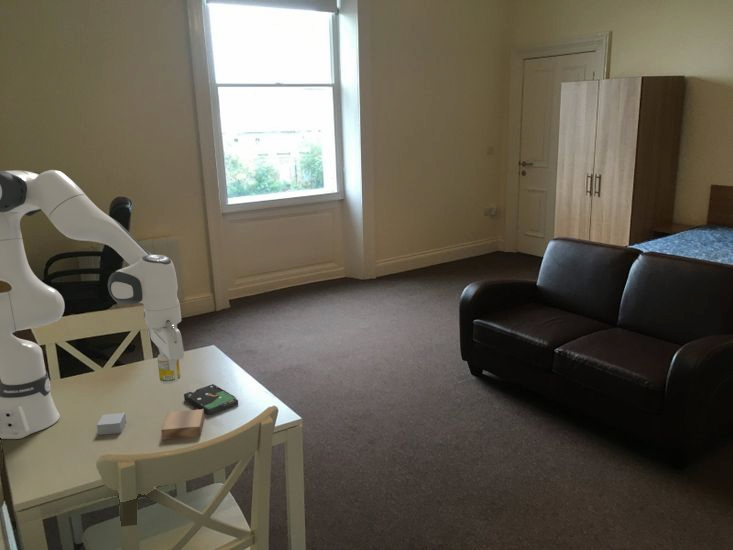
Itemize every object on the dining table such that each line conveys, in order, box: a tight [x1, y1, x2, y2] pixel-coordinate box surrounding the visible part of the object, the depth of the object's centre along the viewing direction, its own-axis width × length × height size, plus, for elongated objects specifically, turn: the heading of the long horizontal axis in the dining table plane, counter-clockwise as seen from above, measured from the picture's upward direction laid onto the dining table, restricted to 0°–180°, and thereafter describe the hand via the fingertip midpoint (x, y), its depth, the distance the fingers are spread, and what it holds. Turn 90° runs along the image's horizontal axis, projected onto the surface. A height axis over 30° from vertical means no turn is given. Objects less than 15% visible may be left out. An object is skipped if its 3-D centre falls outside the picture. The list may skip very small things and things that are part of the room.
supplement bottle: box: [157, 348, 181, 385], centre depth 162 cm, size 5×5×10 cm
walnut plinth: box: [161, 409, 205, 441], centre depth 168 cm, size 10×10×3 cm
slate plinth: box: [96, 412, 127, 436], centre depth 169 cm, size 6×6×3 cm
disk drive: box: [183, 383, 239, 417], centre depth 183 cm, size 10×3×15 cm
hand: (169, 365), depth 162 cm, fingers closed on supplement bottle, 5 cm apart
